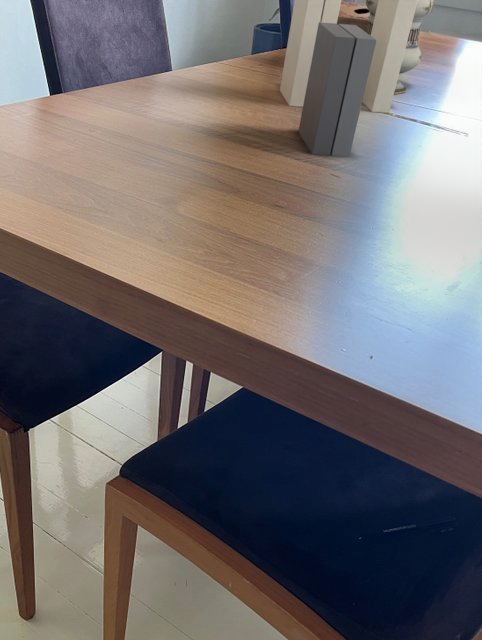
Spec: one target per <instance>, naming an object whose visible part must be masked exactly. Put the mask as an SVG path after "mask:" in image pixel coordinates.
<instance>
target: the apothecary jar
mask: <svg viewBox="0 0 482 640" xmlns="http://www.w3.org/2000/svg"><path fill="white" fill-rule="evenodd" d="M378 1H379V0H365V4H366V5H367V8H368V9H369V10H370V16H369V21H368V26H367V30H366V33H367V34H369V35H370V36H371V31H372V27H373V23H374V18H375V14H376V9H377V5H378ZM434 5H435V1H434V0H418V2H417V5H416V9H415V13H414V17H413V21H412V25H411V29H410V33H409V37H408V41H407V44H406V48H405V52H404V56H403V60H402V64H401V68H400V72H399V75H401V74H405V73H407V72H409V71H411V70H413V69H414V68H415V67H417V66H418V65H419V64H420V62H421V60H422V51H421V49H420V47H419V45H418V43H419V38H420V34H421V29H422V25H423V21H424V18H425V17H426V16H428V15H430V13H431V12H432V11H433V9H434ZM406 92H407V87H406V86H405V85H404V84H402V83H401V82H400V81H399V80H397V83H396V87H395V91H394V95H398V94H399V95H400V94H404V93H406Z"/></svg>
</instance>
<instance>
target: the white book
mask: <svg viewBox="0 0 482 640" xmlns="http://www.w3.org/2000/svg"><path fill="white" fill-rule="evenodd" d="M417 2H418V0H379V1H378V5H377V9H376V14H375V18H374V23H373V27H372V31H371V36H372V37H373V38H375V39H376V40H377V41H376V45H375V50H374V54H373V58H372V62H371V67H370V71H369V75H368V79H367V84H366V88H365V92H364V96H363V101H362V104H364V106H365V107H366V108H368V109H369V111H370V112H371V113H383V114H389V113H390V110H391V106H392V102H393V98H394V95H395V94H394V91H395V87H396V83H397V81H399V75H400V74H399V72H400V68H401V64H402V60H403V56H404V52H405V48H406V44H407V41H408V37H409V33H410V29H411V25H412V21H413V17H414V13H415V9H416V5H417Z"/></svg>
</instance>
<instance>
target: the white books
mask: <svg viewBox="0 0 482 640" xmlns="http://www.w3.org/2000/svg"><path fill="white" fill-rule="evenodd" d="M341 1H342V0H294V1H293V2H294V3H293V9H292V14H291V21H290V26H289V32H288V38H287V44H286V45H287V46H286V50H285V56H284V57H285V58H284V64H283V69H282V74H281V80H280V86H279V92H280V94H281V95H282V96H283V98H284V100H285V101H286V103H287V105H288V106H289V107H296V108H297V107H298V108H303V104H304V99H305V93H306V88H307V83H308V78H309V72H310V67H311V62H312V56H313V51H314V46H315V40H316V35H317V30H318V24H319V22H321V23H334V24H337V20H338V15H339V10H340V5H341Z"/></svg>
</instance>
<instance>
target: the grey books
mask: <svg viewBox="0 0 482 640" xmlns="http://www.w3.org/2000/svg"><path fill="white" fill-rule="evenodd" d="M376 41H377V40H376V39H375V38H373V37H372V36H370V35H369V34H367V33H366V32H365V31H363V30H362V29H360V28H359V27H358V26H356V25H347V24H338V25H337V24H334V23H321V22H319V24H318V30H317V35H316V40H315V46H314V51H313V56H312V62H311V67H310V72H309V78H308V83H307V88H306V93H305V99H304V104H303V107H302V110H301V116H300V120H299V125H298V131H297V132H298V133H299V135H300V137H301V138H302V141H304V143H305V145H306V146H307V148H308V149H309V152H310V153H311V154H312V155H321V156H335V157H350V156H351V152H352V148H353V143H354V138H355V135H356V131H357V127H358V121H359V119H360V118H359V117H360V114H361V113H360V112H361V109H362V104H363V102H362V101H363V96H364V92H365V88H366V84H367V79H368V75H369V71H370V67H371V62H372V58H373V54H374V50H375V45H376Z"/></svg>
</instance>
